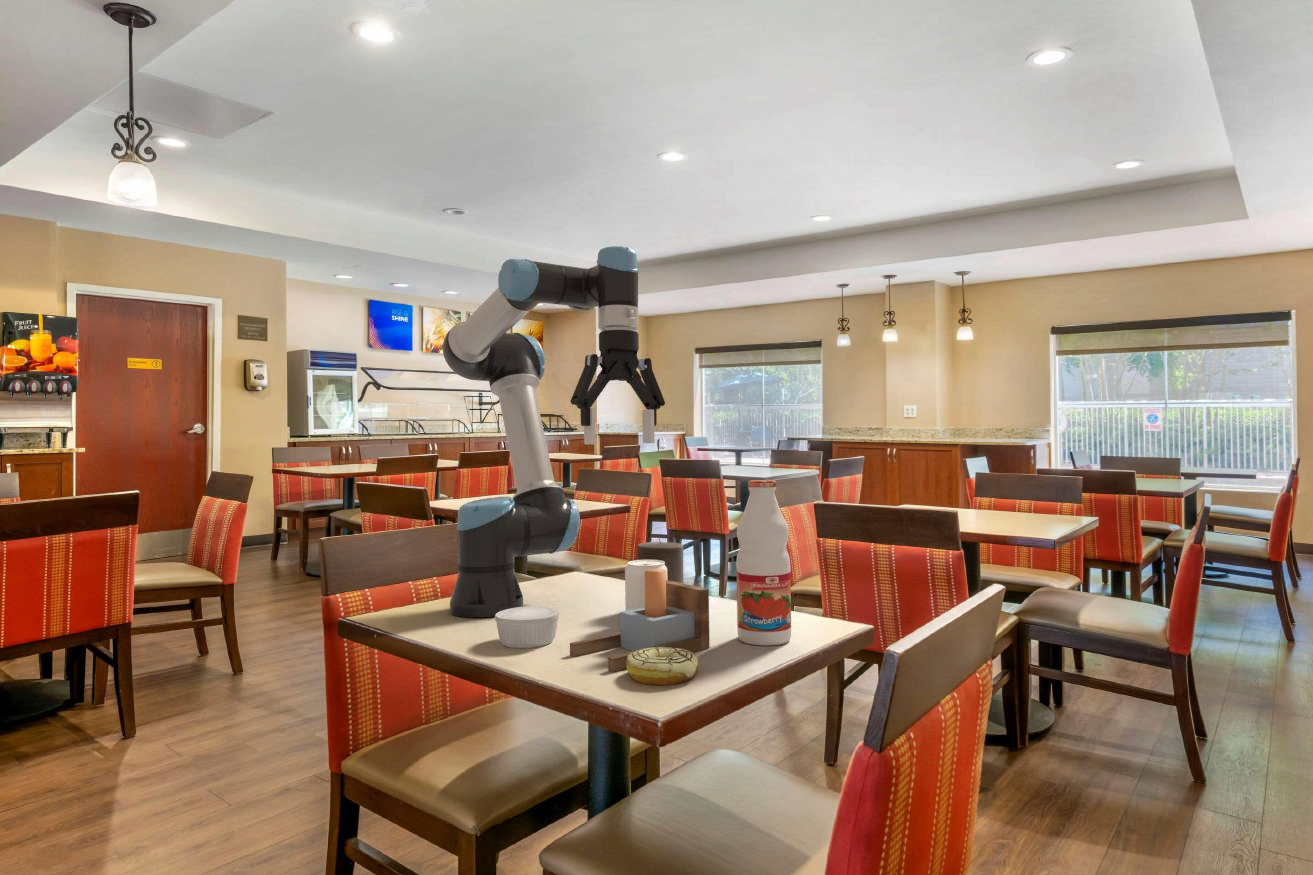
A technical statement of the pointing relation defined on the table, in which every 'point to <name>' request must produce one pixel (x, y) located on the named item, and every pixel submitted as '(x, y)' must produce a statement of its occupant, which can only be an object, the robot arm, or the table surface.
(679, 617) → the socket block
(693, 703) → the table surface
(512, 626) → the ramekin
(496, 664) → the table surface
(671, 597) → the track with backstop wall
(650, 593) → the dowel
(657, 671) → the decorated donut
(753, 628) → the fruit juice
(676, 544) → the pillar candle
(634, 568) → the beverage can
